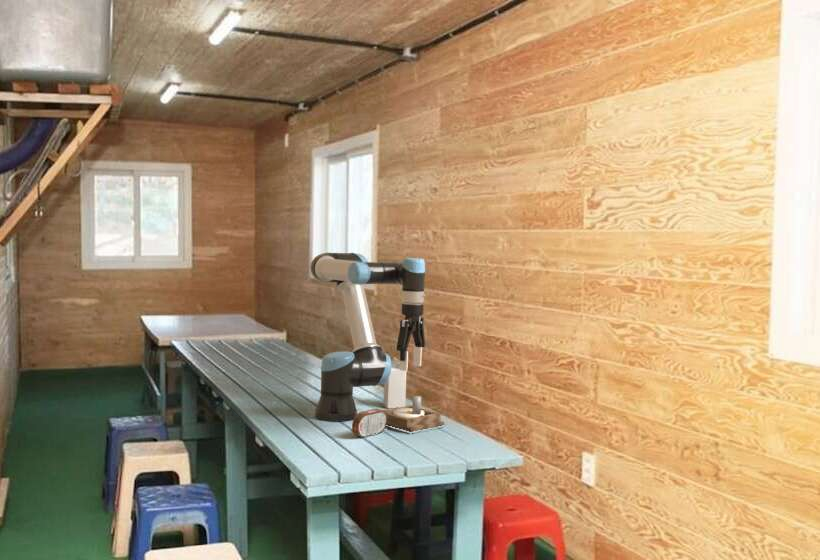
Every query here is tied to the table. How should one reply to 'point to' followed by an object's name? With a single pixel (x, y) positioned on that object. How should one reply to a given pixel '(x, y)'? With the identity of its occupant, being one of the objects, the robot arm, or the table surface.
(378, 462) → the table surface
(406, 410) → the dial
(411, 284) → the robot arm
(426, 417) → the wooden tray
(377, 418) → the tin
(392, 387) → the milk carton
